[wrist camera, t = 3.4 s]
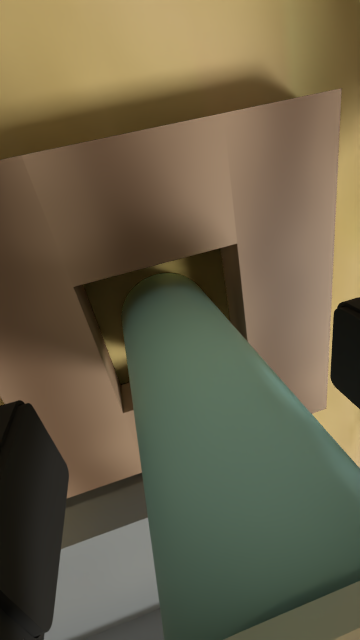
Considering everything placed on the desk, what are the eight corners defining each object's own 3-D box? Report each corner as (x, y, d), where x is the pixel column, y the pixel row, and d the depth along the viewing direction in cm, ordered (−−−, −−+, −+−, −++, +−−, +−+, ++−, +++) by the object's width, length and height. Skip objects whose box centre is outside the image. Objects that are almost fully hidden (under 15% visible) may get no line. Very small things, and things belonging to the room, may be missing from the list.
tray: (229, 435, 18) (251, 479, 15) (251, 562, 25) (268, 607, 23) (-124, 557, 16) (-170, 633, 13) (13, 658, 23) (2, 719, 21)
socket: (304, 102, 11) (341, 88, 9) (303, 385, 18) (326, 408, 16) (-91, 185, 10) (-134, 187, 8) (69, 463, 16) (65, 498, 14)
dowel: (199, 262, 13) (485, 511, 3) (212, 339, 15) (420, 643, 5) (109, 286, 12) (134, 662, 3) (135, 362, 14) (201, 744, 5)
